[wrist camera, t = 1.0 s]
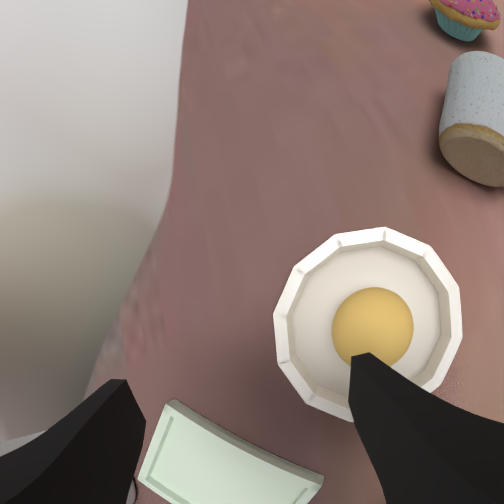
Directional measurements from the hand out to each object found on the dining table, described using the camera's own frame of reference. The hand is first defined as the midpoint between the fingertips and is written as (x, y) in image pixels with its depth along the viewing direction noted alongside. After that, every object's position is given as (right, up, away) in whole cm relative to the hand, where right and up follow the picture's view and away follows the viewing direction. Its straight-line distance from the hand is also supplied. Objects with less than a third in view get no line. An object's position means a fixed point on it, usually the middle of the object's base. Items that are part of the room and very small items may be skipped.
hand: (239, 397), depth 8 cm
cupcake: (+23, +29, +10) cm, 39 cm away
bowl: (+8, 0, +10) cm, 13 cm away
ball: (+7, 0, +7) cm, 11 cm away
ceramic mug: (+20, +13, +9) cm, 25 cm away
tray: (-2, -16, +11) cm, 19 cm away
